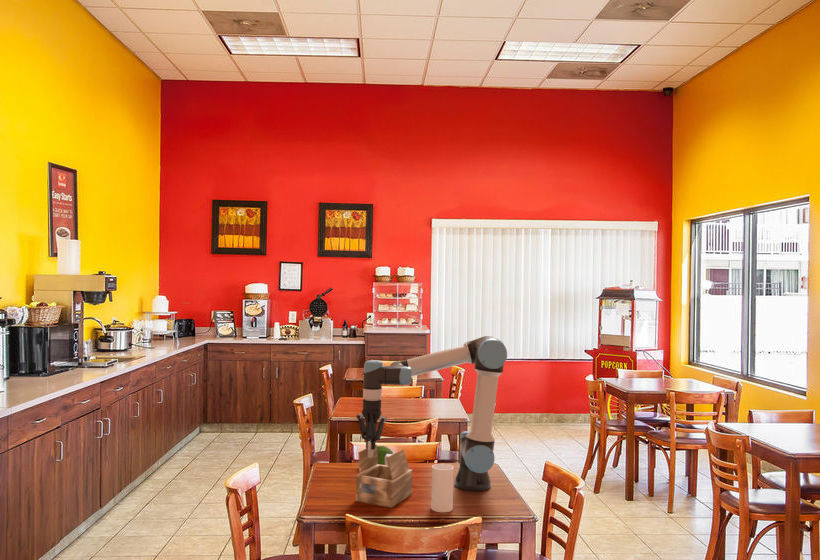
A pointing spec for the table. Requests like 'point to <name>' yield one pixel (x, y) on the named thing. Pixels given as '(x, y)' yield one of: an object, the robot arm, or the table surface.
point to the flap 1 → (367, 459)
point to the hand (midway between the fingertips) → (370, 457)
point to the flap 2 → (397, 463)
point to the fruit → (382, 454)
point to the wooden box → (383, 486)
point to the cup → (442, 488)
